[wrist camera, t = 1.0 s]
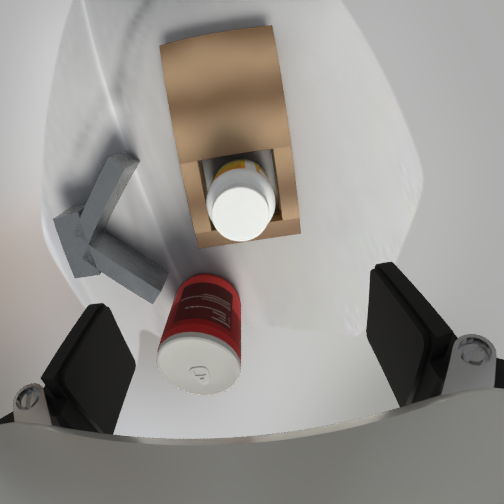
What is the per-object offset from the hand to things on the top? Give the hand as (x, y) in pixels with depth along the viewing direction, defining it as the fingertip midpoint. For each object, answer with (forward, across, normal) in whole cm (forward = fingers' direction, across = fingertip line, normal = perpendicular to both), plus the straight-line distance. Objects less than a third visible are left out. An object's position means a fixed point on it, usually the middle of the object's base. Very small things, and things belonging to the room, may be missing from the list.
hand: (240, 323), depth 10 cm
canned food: (+22, +6, +12) cm, 26 cm away
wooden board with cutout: (+21, 0, -6) cm, 22 cm away
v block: (+21, +15, +2) cm, 26 cm away
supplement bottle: (+21, 0, 0) cm, 21 cm away
